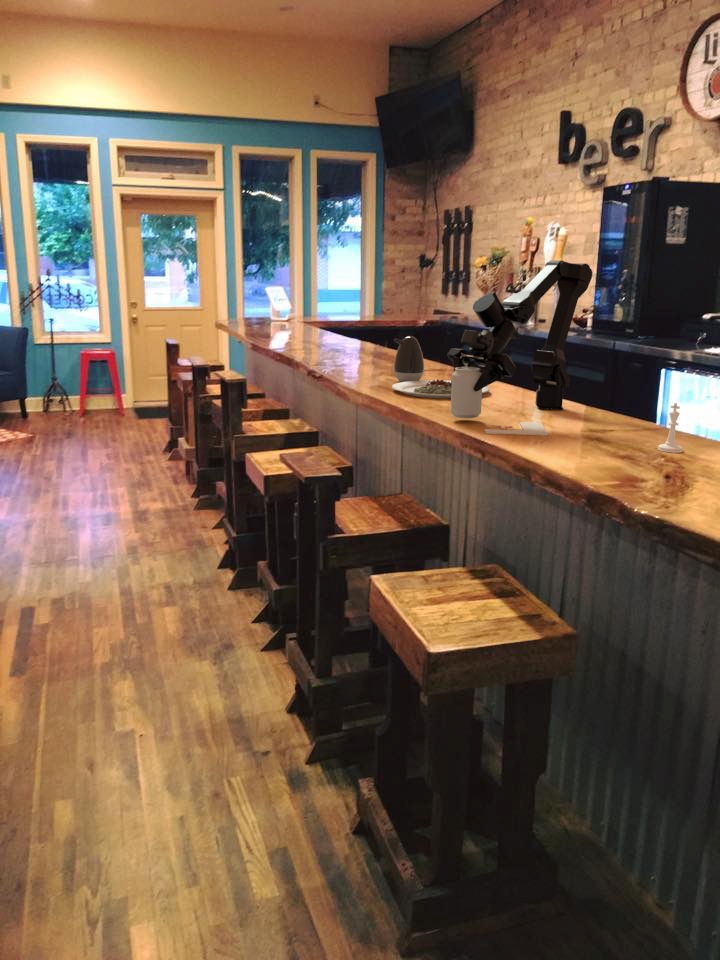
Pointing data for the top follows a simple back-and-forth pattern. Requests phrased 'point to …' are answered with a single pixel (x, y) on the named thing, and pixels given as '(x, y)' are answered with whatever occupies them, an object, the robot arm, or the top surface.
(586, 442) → the top surface
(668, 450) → the chess piece
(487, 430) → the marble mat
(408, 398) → the top surface
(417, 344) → the pump dispenser
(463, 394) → the can
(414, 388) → the plated food
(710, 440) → the top surface
